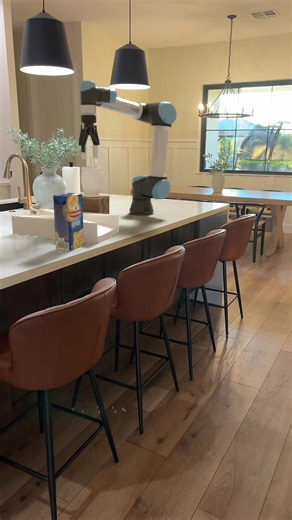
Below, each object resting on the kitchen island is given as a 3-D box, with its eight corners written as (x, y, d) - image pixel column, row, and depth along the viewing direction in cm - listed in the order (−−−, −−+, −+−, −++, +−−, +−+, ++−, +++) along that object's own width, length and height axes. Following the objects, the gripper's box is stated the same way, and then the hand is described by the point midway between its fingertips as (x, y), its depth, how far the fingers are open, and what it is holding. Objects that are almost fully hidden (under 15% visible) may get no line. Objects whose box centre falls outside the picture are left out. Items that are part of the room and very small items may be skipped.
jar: (82, 195, 216) (81, 166, 212) (102, 195, 217) (101, 166, 213) (81, 198, 206) (80, 167, 202) (101, 198, 207) (101, 167, 203)
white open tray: (118, 234, 199) (118, 215, 196) (97, 244, 179) (97, 223, 176) (40, 226, 214) (39, 208, 211) (12, 235, 194) (11, 215, 192)
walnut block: (85, 222, 224) (85, 194, 220) (110, 224, 220) (109, 196, 216) (73, 227, 211) (72, 197, 207) (98, 229, 207) (98, 199, 203)
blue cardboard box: (83, 245, 176) (82, 193, 170) (69, 251, 166) (67, 196, 160) (70, 243, 178) (68, 192, 172) (55, 249, 168) (53, 195, 162)
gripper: (92, 116, 215) (93, 157, 221) (70, 113, 192) (72, 159, 198) (105, 115, 213) (106, 157, 219) (84, 113, 190) (86, 159, 196)
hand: (90, 158), depth 209 cm, fingers open, 13 cm apart
